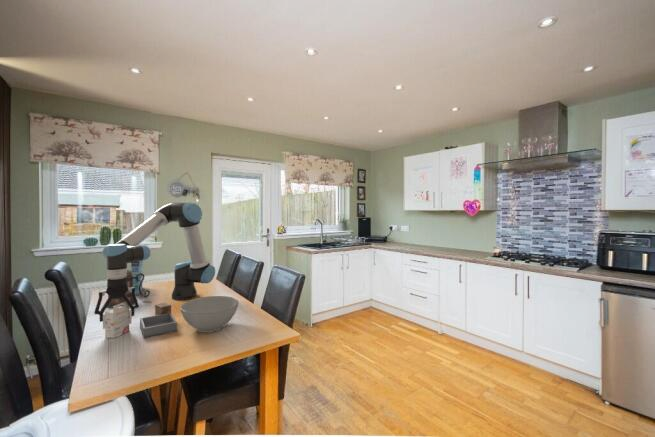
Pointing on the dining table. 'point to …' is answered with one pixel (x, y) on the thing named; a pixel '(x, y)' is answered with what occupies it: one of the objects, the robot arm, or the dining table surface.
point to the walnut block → (162, 308)
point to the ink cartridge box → (117, 320)
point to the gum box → (136, 269)
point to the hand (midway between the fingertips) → (117, 325)
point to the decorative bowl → (209, 312)
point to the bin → (158, 325)
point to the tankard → (128, 293)
